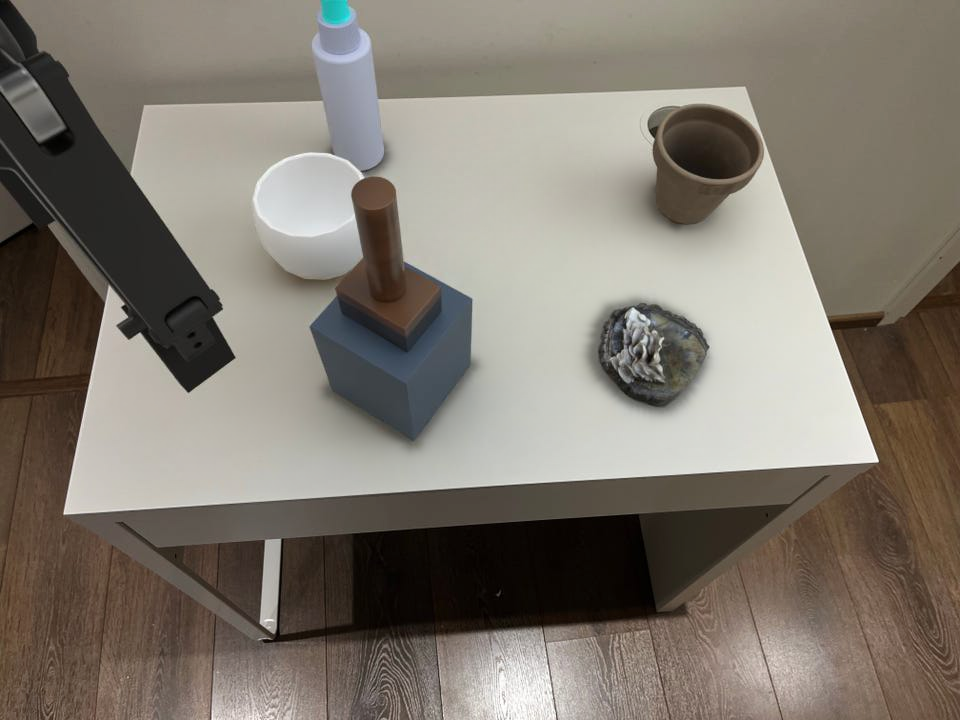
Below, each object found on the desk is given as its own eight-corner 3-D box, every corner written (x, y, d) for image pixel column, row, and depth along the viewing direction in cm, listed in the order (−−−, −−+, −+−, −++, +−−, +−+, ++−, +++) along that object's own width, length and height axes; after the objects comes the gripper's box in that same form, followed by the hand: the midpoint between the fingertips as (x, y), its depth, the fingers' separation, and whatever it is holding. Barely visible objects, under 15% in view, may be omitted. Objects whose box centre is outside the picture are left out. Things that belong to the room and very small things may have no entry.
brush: (442, 311, 60) (437, 192, 47) (407, 353, 58) (392, 240, 45) (377, 273, 62) (355, 148, 49) (341, 312, 60) (308, 193, 47)
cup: (404, 245, 78) (398, 184, 70) (330, 319, 73) (313, 263, 65) (322, 194, 82) (306, 130, 73) (245, 262, 77) (219, 201, 68)
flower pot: (739, 245, 79) (775, 183, 71) (640, 242, 79) (663, 179, 71) (724, 170, 85) (755, 103, 76) (631, 167, 85) (651, 100, 76)
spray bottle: (386, 137, 86) (365, -38, 67) (383, 173, 83) (360, 1, 64) (337, 136, 86) (302, -40, 67) (332, 172, 83) (294, 0, 64)
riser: (470, 364, 71) (472, 298, 61) (414, 441, 67) (406, 384, 56) (391, 318, 73) (379, 247, 63) (331, 390, 69) (308, 326, 59)
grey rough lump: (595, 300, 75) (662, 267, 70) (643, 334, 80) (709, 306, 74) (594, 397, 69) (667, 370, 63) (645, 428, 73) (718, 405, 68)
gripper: (-549, -336, 20) (-58, 191, 38) (-187, 119, 11) (212, 507, 30) (-258, -396, 22) (68, 124, 41) (199, -62, 14) (346, 396, 33)
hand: (129, 287), depth 35 cm, fingers open, 13 cm apart
